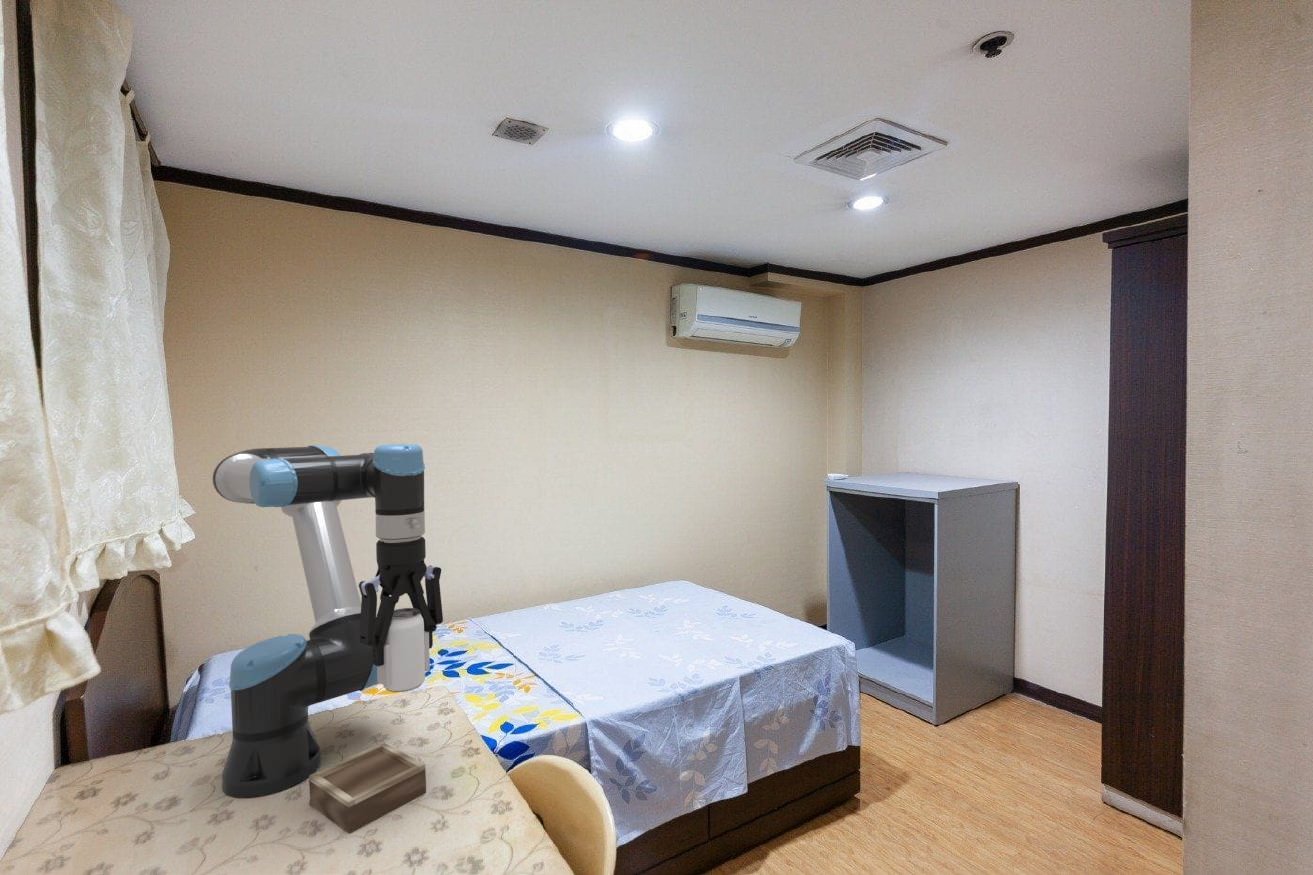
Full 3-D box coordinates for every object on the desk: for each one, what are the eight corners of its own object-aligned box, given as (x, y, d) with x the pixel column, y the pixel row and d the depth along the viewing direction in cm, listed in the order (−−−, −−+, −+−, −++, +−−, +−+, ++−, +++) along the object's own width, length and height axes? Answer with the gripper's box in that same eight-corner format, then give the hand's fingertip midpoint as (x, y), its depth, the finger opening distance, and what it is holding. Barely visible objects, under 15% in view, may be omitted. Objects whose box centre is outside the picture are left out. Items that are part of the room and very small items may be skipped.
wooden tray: (310, 804, 104) (308, 775, 104) (385, 768, 114) (384, 742, 114) (349, 833, 96) (348, 802, 96) (426, 792, 106) (425, 764, 106)
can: (411, 694, 101) (409, 620, 100) (374, 691, 102) (373, 618, 102) (432, 677, 107) (431, 608, 107) (397, 675, 108) (396, 606, 108)
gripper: (356, 551, 94) (360, 703, 95) (464, 531, 109) (466, 662, 110) (330, 545, 98) (334, 691, 99) (437, 526, 114) (440, 652, 115)
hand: (404, 675), depth 105 cm, fingers closed on can, 6 cm apart
